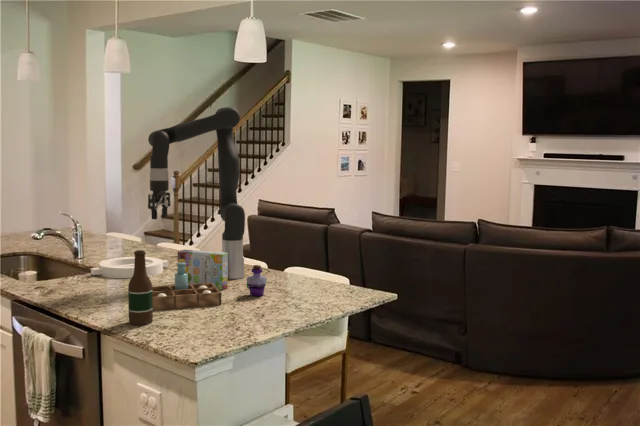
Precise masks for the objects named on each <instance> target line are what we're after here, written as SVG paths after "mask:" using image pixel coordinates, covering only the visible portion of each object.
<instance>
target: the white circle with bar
mask: <svg viewBox="0 0 640 426" xmlns="http://www.w3.org/2000/svg"><path fill="white" fill-rule="evenodd" d="M134 263H135V256H125V257H114V258H110V259H104V260H103V261H100V262H99V263H98V267H92V268H90V274H91V275H93V276H95V275H100V276H101V277H104V278H105V277H106V278H110V279H131V278H132V277H133V274H134ZM145 264H146V273H147V276H148V277H153V276H156V275H159V274H162V272H163V269H164V268H167V267H170V261H169V260H167V259H165V260H162V259H160V258H156V257H150V256H149V257H148V256H145Z"/></svg>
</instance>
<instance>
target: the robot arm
mask: <svg viewBox="0 0 640 426" xmlns="http://www.w3.org/2000/svg"><path fill="white" fill-rule="evenodd" d="M240 121H241V115H240V112H239V111H238V110H237V109H235V108H234V107H230V106H226V107H221V108H218V109H217V110H216V111H215V113H214V114H212V115H209V116H206V117H202V118H198V119H193V120H189V121H185V122H182V123H179V124H176V125H173V126H170V127H166V128H162V129H158V130H155V131H152V132H151V133H150V134H149V135H148V139H147V140H148V143H149V145H150V146H151V147H152V148H151V149H152V150H151V151H152V153H151V155H150V160H149V161H150V162H149V165H150V166H149V167H150V169H149V190H150V192H152V193H151V194H148V196H147V208H148V209H149V210H150V211H151V213H150V214H151V220H158V208H159V206H161V217H162V218H168V208H169V207H171V192H168V191H169V187H170V185H169V184H170V183H169V180H170V179H169V170H168V169H169V167H168V165H169V160H168V155H169V151H170V145H171V144H174V143H179V142H183V141H187V140H189V139H193V138H196V137H198V136H200V135H203V134H207V133H210V132H214V131H215V132H216V139H217V141H216V142H217V162H218V163H217V165H218V178H219V188H220V205H219V215H220V218H221V220H222V221H223V222H224V229H223V230H224V231H223V232H222V234H221V243H222V244H221V248H222V249H221V252H224V253H228V280H239V279H242V278H243V279H244V278H245V257H244V241H243V240H244V234H245V225H246V212H245V210H244V208H243V207H242V205H239V204H238V196H237V195H238V194H237V189H238V184H239V179H240V174H241V172H240V171H241V170H240V157H239V154H238V151H237V148H236V145H235V141H234V128H235V127H237V126H238V124H239V122H240Z"/></svg>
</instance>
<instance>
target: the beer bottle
mask: <svg viewBox="0 0 640 426" xmlns="http://www.w3.org/2000/svg"><path fill="white" fill-rule="evenodd" d="M133 255H134V257H135V263H134V274H133V277H132V278H130V279H129V282H128V289H127V293H128V294H127V297H128V300H127V301H128V302H127V303H128V322H129V325H131V326H136V327H139V326H140V327H141V326H148V325H150V324H152V323H153V320H154V319H153V318H154V316H153V315H154V314H153V311H154V310H153V295H152V287H153V283H152V281H151V279H150V277H149V276H147V273H146V264H145V257H146V255H147V254H146V251H145V250H142V249H140V250H139V249H138V250H134V252H133Z"/></svg>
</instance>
